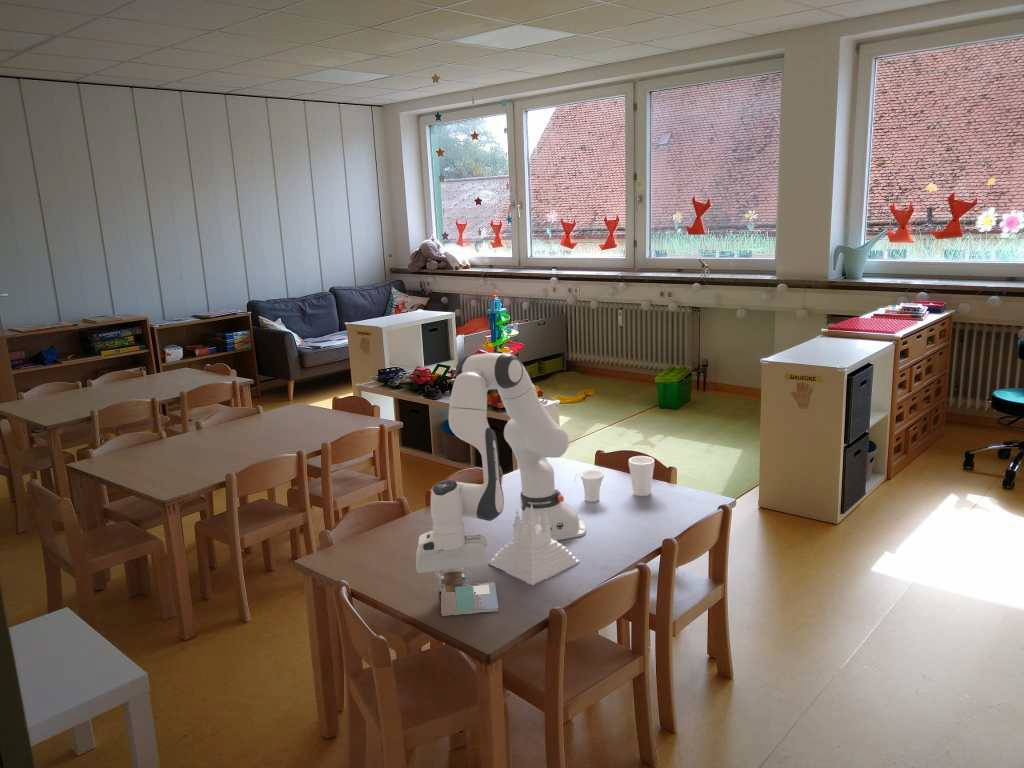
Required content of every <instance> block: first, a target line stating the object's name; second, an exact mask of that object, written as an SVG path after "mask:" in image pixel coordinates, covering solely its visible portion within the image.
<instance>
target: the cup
mask: <svg viewBox="0 0 1024 768" xmlns="http://www.w3.org/2000/svg"><path fill="white" fill-rule="evenodd" d="M579 476H580V478H581V480H582V486H583V488H584V491H583V492H584V501H586V502H588V503H589V502H590V503H594V502H598V501H599V500H600V491H601V486H602V482H603V479H604V478H605V473H604V472H602V471H599V470H594V469H592V470H585V471H582V472H581V473H580V474H579Z"/></svg>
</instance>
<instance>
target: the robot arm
mask: <svg viewBox="0 0 1024 768" xmlns="http://www.w3.org/2000/svg"><path fill="white" fill-rule="evenodd" d="M454 372H455V378H454V382H453V385H452V389H451V394H450V398H449V407H448V425H449V429H450V430H451V432H452V433H453V434H454V435H455V436H456V437H457V438H458V439H460V440H462V441H463V442H466V443H468V444H469V445H472V446H473V447H474V448H476V450H478V451H479V453H480V455H481V461H482V474H483V477H482V478H483V483H482V484H479V483H478V484H477V483H471V482H470V483H468V482H460V481H455V480H453V479H444V480H440V481H438V482H436V483H435V484H433V486H432V487H431V492H430V513H431V519H432V521H433V525H432V530H429V531H428V532H425V533H422V534H420V535H419V537H418V543H417V545H418V546H417V549H416V558H415V559H416V560H415V565H416V566H415V569H416V571H417V572H418V574H424V573H426V574H427V573H433V572H434V575H435V577H436V578H437V579H438V580H439V585H445V582H444V575H441V571H442V572H444V570H454V569H461V570H462V569H463V570H464V569H465V571H464V573H462V583H465V582H468V576H469V574H470V572H471V568H480V567H485V566H486V565H487V564H488V557H487V551H486V548H487V547H488V546H487V545H488V542H487V541H488V540H487V537H486V536H484V535H481V534H475V535H466V532H465V524H464V522H463V517H465V518H473V519H479V520H483V521H488V522H492V521H494V520H495V519H496V518H498V517H499V516H500V515H501V514H502V512H503V510H504V506H505V498H504V491H503V487H502V480H501V479H502V478H501V468H500V458H499V446H498V440H497V436H496V432H495V430H494V429H492V428H491V427H490V424H489V422H488V417H487V416H488V415H487V414H488V413H487V411H488V391H490V390H497V392H498V394H499V397H500V399H501V402H502V404H503V406H504V408H505V411H506V413H507V415H508V417H509V418H510V419H509V420H508V421H507V423H506V424H505V425H504V429H503V437H504V440H505V441H506V443H508V445H509V447H510V448H511V450H512V451H513V454H514V456H515V458H516V461H517V465H518V468H519V473H520V474H519V475H520V480H521V484H520V485H521V491H520V509H521V518H520V520H521V523H522V524H523V526H525V525H528V517H529V514H530V511H531V503H532V506H533V511H534V514H535V517H536V518H537V524H538V525H541V523H542V522H543V521H542V520H543V516H544V511H545V509H546V516H548V519H549V522H550V526H551V539H553V540H555V541H561V540H567V539H572V538H578V537H583V536H584V535H585V534H586V532H587V527H586V525H585V522H584V521H583V520H582V519H581V518H579V515H578V513H577V511H576V510H575V508H574V507H573V506H571V505H569V504H568V503H567V502H565V497H564V495H563V494H562V493H561V492H560V491H559V490H558V489H556V487H555V470H554V467H553V466H552V464H551V463H550V462H549V461H548V459H547V458H551V459H552V458H555V459H556V458H560V457H562V456H564V454H565V453H566V452H567V450H568V448H569V444H570V439H569V434H568V432H567V431H566V430H565V429H564V428H562V427H561V426H560V425H559V424H558V423H557V422H556V421H555V420H554V419H553V418H552V416H551V415H550V414H549V413H548V411H547V409H546V408H545V407H544V405H543V404H542V402H541V401H540V398H539V397H538V393H537V392H536V389H535V387H534V384H533V382H532V380H531V376H529V373H528V371H527V369H526V368H525V366H524V364H523V362H521V360H520V359H519V357H517V356H516V355H515V354H512V353H506V352H504V353H501V352H500V353H498V352H487V353H478V354H468V355H465V356H462V357H461V358H460V359H459V361H458V362H457V363H456V366H455V371H454Z"/></svg>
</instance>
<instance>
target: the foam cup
mask: <svg viewBox="0 0 1024 768" xmlns="http://www.w3.org/2000/svg"><path fill="white" fill-rule="evenodd" d="M628 468H629V473H630V479H631V486H632V493H633V495H635V496H639V497H646V496H649V495H650V494H651V491H652V485H653V476H654V468H655V459H654V458H653V457H651V456H646V455H637V456H636V455H635V456H632V457H630V458H629V459H628Z"/></svg>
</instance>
